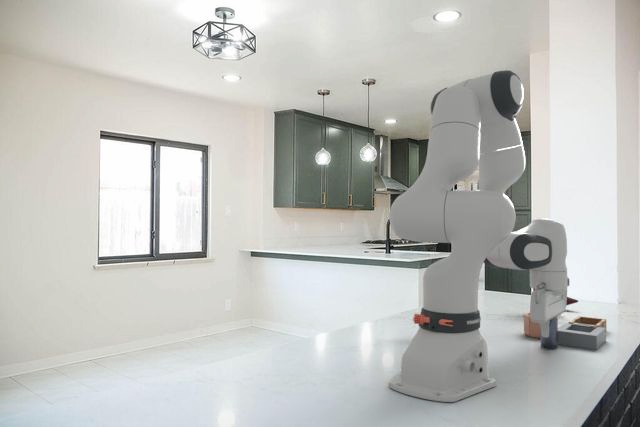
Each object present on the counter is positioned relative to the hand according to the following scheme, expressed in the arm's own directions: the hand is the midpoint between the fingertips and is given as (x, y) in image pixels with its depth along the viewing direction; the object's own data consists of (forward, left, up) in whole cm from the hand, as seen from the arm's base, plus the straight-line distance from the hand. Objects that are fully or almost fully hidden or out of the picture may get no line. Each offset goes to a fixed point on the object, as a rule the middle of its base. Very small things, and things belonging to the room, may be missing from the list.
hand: (548, 334), depth 127 cm
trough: (+25, -4, -3) cm, 25 cm away
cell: (0, 0, -3) cm, 3 cm away
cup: (+13, +6, -3) cm, 15 cm away
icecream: (+60, +13, -3) cm, 61 cm away
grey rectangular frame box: (+11, -5, -3) cm, 12 cm away
